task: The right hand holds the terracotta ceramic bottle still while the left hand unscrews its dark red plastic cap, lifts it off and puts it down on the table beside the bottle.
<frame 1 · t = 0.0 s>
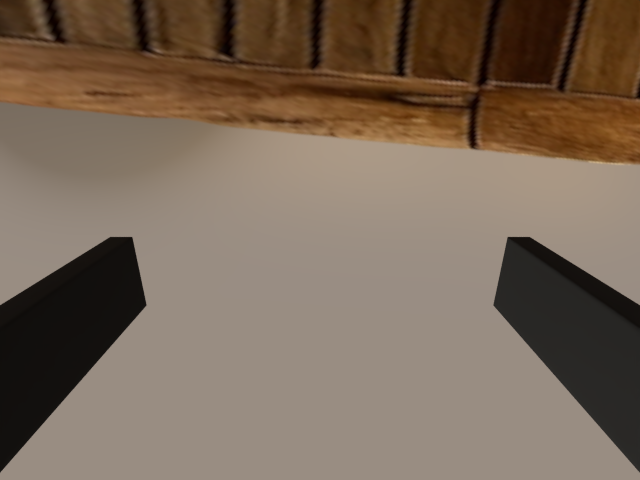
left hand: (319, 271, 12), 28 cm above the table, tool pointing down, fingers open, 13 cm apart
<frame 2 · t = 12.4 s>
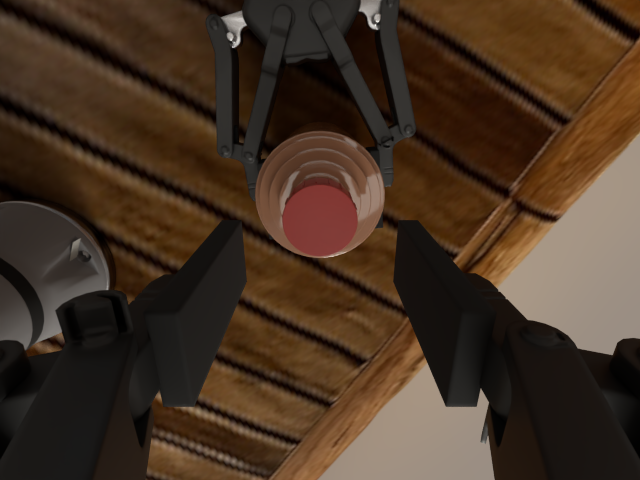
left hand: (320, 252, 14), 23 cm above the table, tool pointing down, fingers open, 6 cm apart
right hand: (325, 228, 31), fingers closed on bottle, 8 cm apart
cap: (319, 220, 18), point 18 cm above the table, screwed on, not yet turned
bottle: (319, 164, 35), on the table, touching right hand
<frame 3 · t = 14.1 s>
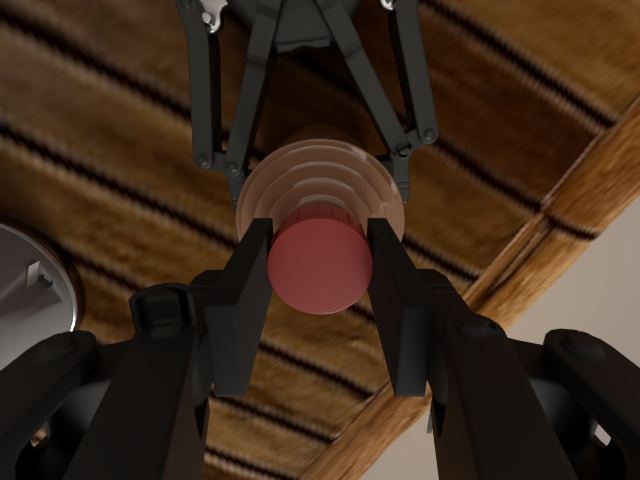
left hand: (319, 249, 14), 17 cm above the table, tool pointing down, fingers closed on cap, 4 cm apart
right hand: (326, 252, 26), fingers closed on bottle, 8 cm apart
cap: (320, 265, 13), point 18 cm above the table, screwed on, not yet turned, touching left hand
bottle: (320, 174, 30), on the table, touching right hand
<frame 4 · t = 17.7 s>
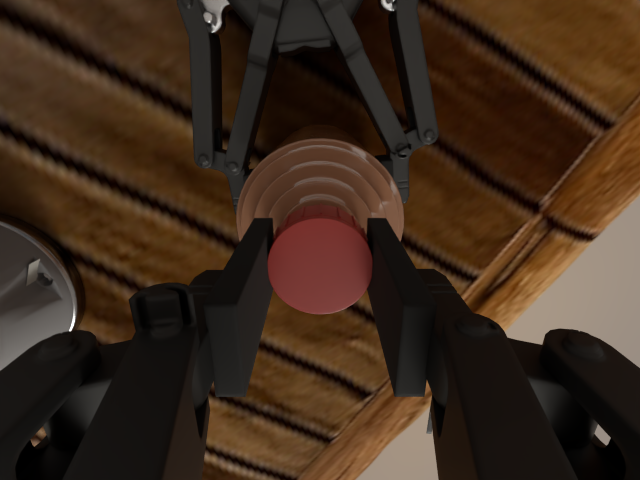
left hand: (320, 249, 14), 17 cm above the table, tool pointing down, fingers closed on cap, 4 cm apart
right hand: (326, 251, 26), fingers closed on bottle, 8 cm apart
cap: (320, 265, 13), point 18 cm above the table, turned 114° so far, risen 0.1 cm, still on its thread, touching left hand
bottle: (320, 174, 30), on the table, touching right hand
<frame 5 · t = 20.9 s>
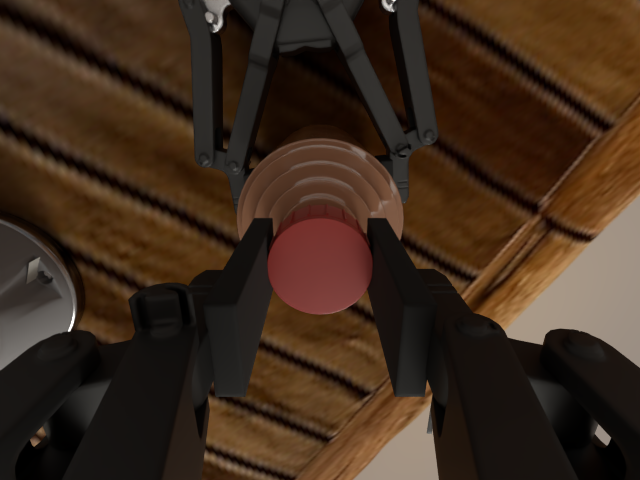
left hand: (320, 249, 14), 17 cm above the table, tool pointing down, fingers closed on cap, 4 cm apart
right hand: (326, 250, 26), fingers closed on bottle, 8 cm apart
cap: (320, 265, 13), point 19 cm above the table, turned 227° so far, risen 0.2 cm, still on its thread, touching left hand
bottle: (320, 174, 30), on the table, touching right hand
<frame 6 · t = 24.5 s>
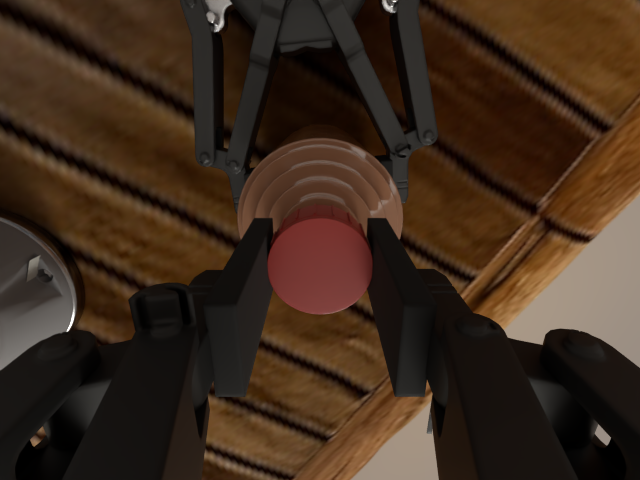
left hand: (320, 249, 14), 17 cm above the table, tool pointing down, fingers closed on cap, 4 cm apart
right hand: (325, 250, 26), fingers closed on bottle, 8 cm apart
cap: (320, 265, 13), point 19 cm above the table, turned 341° so far, risen 0.3 cm, still on its thread, touching left hand
bottle: (320, 174, 30), on the table, touching right hand
when the left hand's fingers open (2 cm above the table, at t = 30.3 s): cap drops 2 cm, point 1 cm above the table.
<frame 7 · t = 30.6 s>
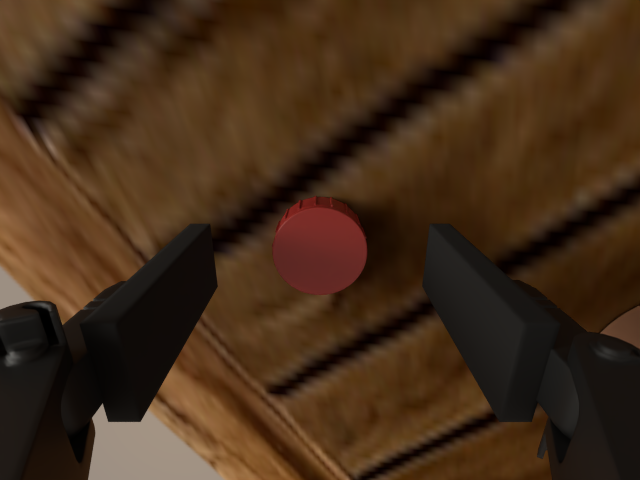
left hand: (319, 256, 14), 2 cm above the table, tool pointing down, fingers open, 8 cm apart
cap: (319, 250, 14), point 1 cm above the table, off its thread
when the right hand's fingers open (6 cm above the table, at t = 31.6 s): bottle stays where it is, on the table.
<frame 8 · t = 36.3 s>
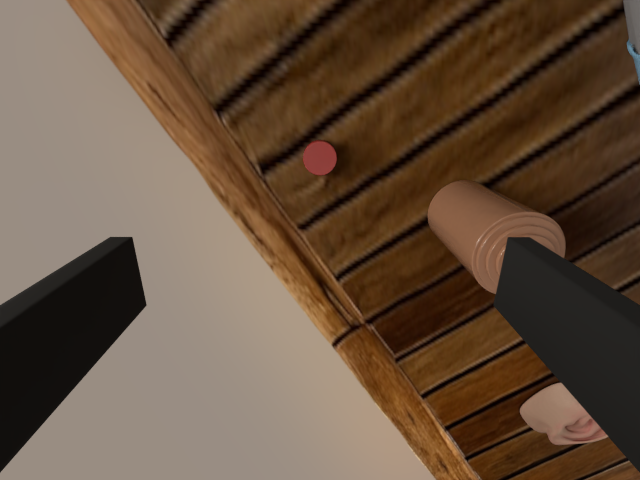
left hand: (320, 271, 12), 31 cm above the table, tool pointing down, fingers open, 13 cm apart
cap: (319, 158, 40), point 1 cm above the table, off its thread
anatomical model: (562, 407, 56), on the table
bottle: (460, 212, 44), on the table
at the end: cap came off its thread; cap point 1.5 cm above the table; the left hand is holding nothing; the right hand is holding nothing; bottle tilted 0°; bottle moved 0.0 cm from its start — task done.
